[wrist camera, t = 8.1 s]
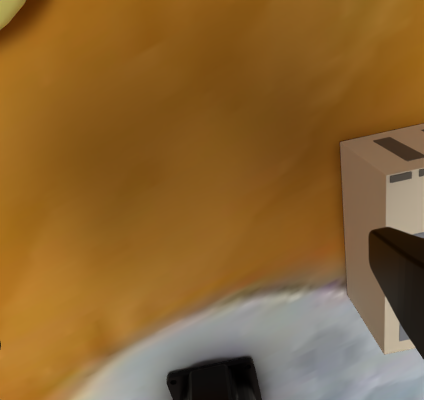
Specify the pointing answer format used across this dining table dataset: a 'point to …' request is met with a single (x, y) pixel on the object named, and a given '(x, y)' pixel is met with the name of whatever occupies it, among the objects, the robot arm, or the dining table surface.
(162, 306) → the dining table surface
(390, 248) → the robot arm
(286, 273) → the dining table surface
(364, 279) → the block
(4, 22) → the emoji
